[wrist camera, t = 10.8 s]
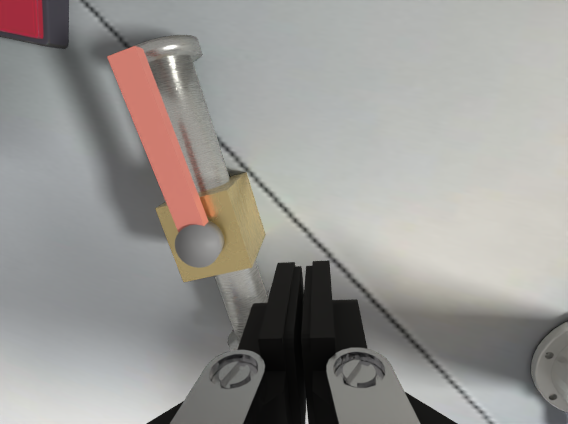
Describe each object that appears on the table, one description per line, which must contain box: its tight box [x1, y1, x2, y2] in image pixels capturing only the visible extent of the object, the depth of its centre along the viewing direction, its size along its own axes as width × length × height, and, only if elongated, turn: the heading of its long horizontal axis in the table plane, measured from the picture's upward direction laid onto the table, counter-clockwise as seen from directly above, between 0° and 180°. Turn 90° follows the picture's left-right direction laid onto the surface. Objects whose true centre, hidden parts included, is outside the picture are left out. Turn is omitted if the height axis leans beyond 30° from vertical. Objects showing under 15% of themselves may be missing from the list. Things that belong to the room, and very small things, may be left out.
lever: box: [107, 46, 224, 268], centre depth 27 cm, size 17×4×2 cm, turn 17°
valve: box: [135, 35, 268, 351], centre depth 33 cm, size 30×6×8 cm, turn 15°
